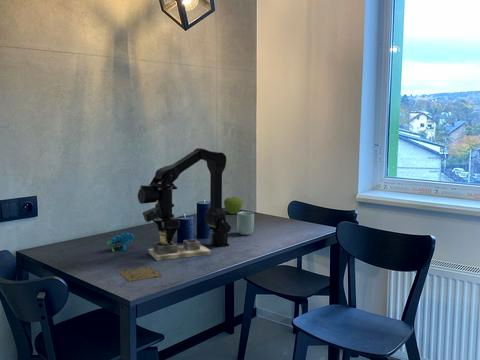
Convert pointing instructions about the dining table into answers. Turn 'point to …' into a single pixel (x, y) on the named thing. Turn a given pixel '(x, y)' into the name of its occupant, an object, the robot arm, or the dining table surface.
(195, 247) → the board
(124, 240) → the blue green toy animal
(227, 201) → the apple
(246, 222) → the cup
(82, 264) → the dining table surface
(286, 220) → the dining table surface
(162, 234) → the cylinder
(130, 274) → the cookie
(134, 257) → the dining table surface
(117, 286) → the dining table surface
